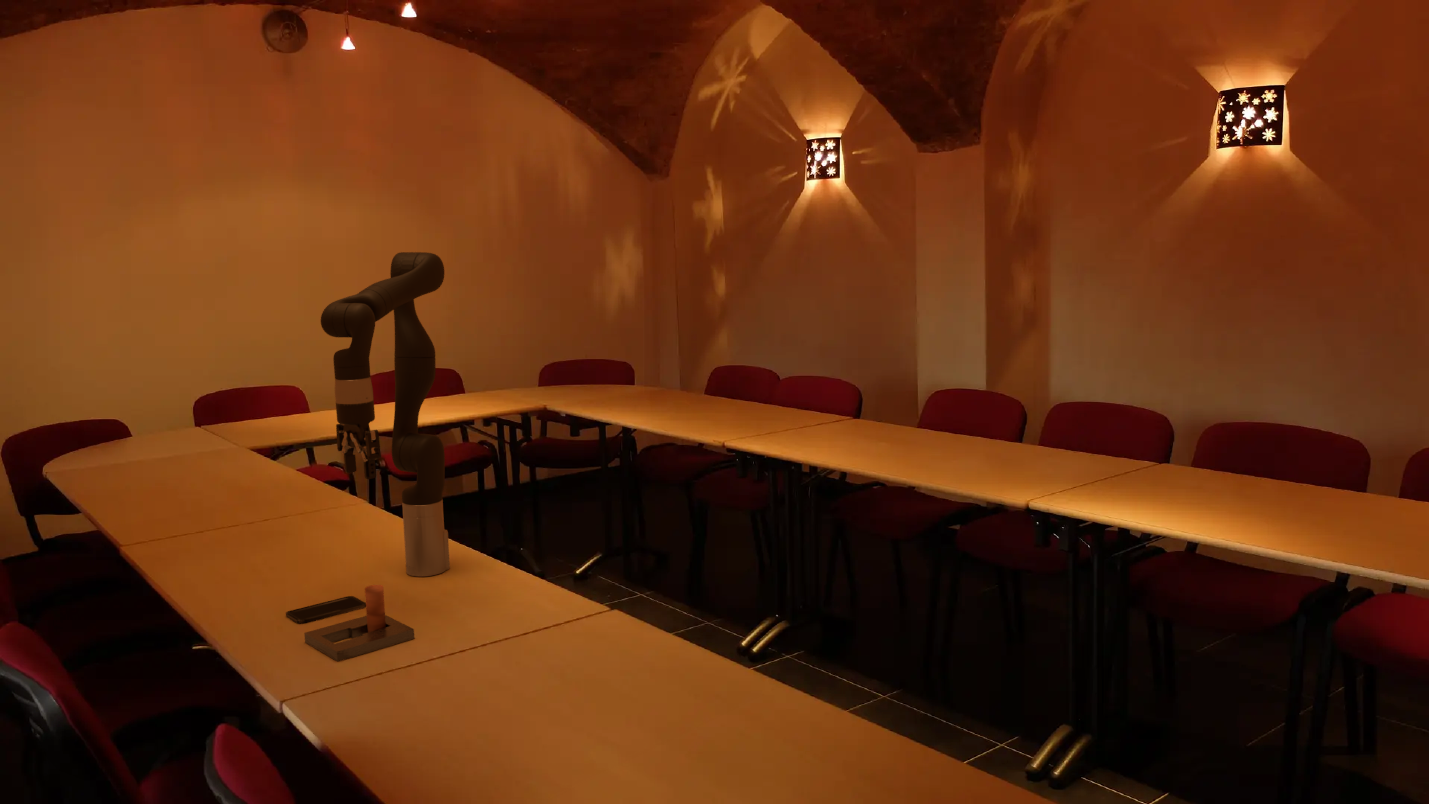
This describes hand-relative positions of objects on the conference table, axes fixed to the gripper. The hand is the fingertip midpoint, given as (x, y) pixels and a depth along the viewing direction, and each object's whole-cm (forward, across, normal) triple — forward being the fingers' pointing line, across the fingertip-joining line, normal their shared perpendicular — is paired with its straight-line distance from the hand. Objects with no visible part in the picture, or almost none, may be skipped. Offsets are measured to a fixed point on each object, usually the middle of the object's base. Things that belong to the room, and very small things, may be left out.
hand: (360, 475), depth 225 cm
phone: (+30, +5, +8) cm, 31 cm away
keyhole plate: (+29, -16, +11) cm, 35 cm away
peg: (+29, -16, +7) cm, 34 cm away
